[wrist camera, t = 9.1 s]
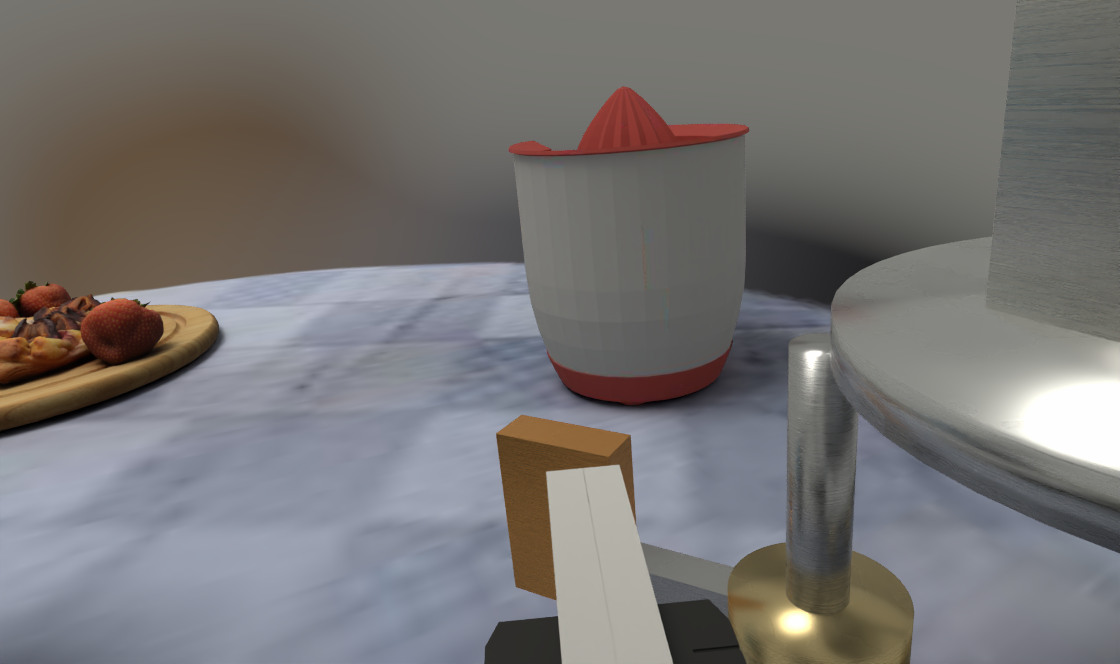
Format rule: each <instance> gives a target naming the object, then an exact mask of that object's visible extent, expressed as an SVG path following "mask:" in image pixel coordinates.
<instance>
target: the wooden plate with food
mask: <svg viewBox="0 0 1120 664" xmlns="http://www.w3.org/2000/svg"><path fill="white" fill-rule="evenodd" d="M32 283H33V282H31V281H29V282H27V283H24V284H25V292H24V291H23V290H22V289H19V290H18V292H17V294H16V299H10V301H9V302H8V301H7V300H3V299H0V431H1V430H6V429H10V428H14V427H18V426H21V425H25V424H29V423H33V422H36V421H40V420H44V419H47V418H50V417H53V416H56V415H60V414H64V413H67V412H71V411H74V410H77V409H80V408H83V407H86V406H89V405H92V404H95V403H98V402H101V401H104V400H107V399H110V398H113V397H115V396H118V395H121V394H123V393H126V392H128V391H131V390H133V389H136V388H138V387H141V386H143V385H145V384H148V383H150V382H152V381H155V380H157V379H159V378H161V377H163V376H165V375H167V374H170V373H172V372H174V371H176V370H178V369H179V368H181V367H183V366H185V365H186V364H188V363H190V362H192V361H193V360H195V359H196V358H198V357H199V356H200V355H202V354H203V353H204V352H205V351H206V350H208V349H209V348H210V347H211V345H212V344H213V343H214V342H215V340H216V338H217V336H218V333H219V325H218V322H217V320H216V318H215V317H214V315H212V314H211V313H210V312H208V311H206V310H204V309H201V308H197V307H192V306H183V305H148V304H149V303H150V302H149V303H147V304H141V303H140V301H138V299H135V300H127V299H125V298H118V299H114V298H111V301H108V302H103V303H100V302H99V301H98V300H95V299H94V298H93V296H92V295H88V296H82V297H78V298H77V297H76V298H72V299H71V298H70V296H69V294H68V293H67V291H66V290H65V289H64V288H63V287H61V286H59V285H56V284H48V282H47V283H46V284H45V285H44V286H39V287H38V286H36V283H34V284H32Z"/></svg>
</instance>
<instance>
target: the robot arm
mask: <svg viewBox="0 0 1120 664" xmlns="http://www.w3.org/2000/svg"><path fill="white" fill-rule="evenodd" d="M546 477H547V489H548V501H549V513H550V525H551V537H552V549H553V561H554V573H555V585H556V597H557V609H558V616H555V617H546V618H536V619H526V620H516V621H506V622H499V623H498V625H497V626H496V628H495V630H494V632H493V634H492V635H491V637H490V639H489V641H488V643H487V644H486V646H485V663H484V664H747V663H746V660H745V658H744V655H743V653H742V650H740V647H739V643H738V640H737V638H736V635H735V633H734V630H733V628H732V625H731V622H730V620H729V619H728V618H727V617H726V616H725V615H724V614H723V613H722V612H721V611H720V610H719V609H718V608H717V607H716V606H715V605H714V604H713V603H712V602H711V601H710V600H709V599H703V600H694V601H684V602H674V603H664V604H657V602H656V598H655V595H654V591H653V587H652V583H651V580H650V576H649V572H648V569H647V565H646V561H645V558H644V554H643V550H642V547H641V543H640V539H639V535H638V532H637V528H636V524H635V521H634V517H633V513H632V510H631V506H630V502H629V499H628V495H627V491H626V488H625V484H624V480H623V476H622V473H621V469H620V465H611V466H600V467H590V468H579V469H568V470H558V471H547V472H546Z"/></svg>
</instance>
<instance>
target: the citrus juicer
mask: <svg viewBox="0 0 1120 664" xmlns="http://www.w3.org/2000/svg"><path fill="white" fill-rule="evenodd" d="M748 132H749V128H748V127H747V126H745V125H738V124H690V125H689V124H688V125H667V124H666V123H665V122H664V120H663V119H662V118H661V117H660V116H659V115H658V113H657V112H656V111H655V110H654V109H653V108H652V107H651V106H650V105H649V104H648V103H647V102H646V101H645V100H644V99H643V98H642V97H641V96H639V95H638V94H637V93H636V92H634V91H633V90H632V89H631V88H628V87H621V88H619V89H617V90H616V91H615V93H613V95H612V96H611V97H610V98H609V99H608V100H607V101H606V103H605V104H604V105H603V106H602V108H601V109H600V110H599V112H598V113H597V115H596V116H595V118H594V119H593V120H592V122H591V124H590V125H589V127H588V128H587V130H586V132H585V134H584V135H583V138H582V140H581V142H580V144H579V146H578V149H577V150H567V151H566V150H565V151H551V149H550V148H548V147H546V146H543V145H541V144H539V143H537V142H535V141H528V142H521V143H518V144H514V145H512V146H510V147H509V152H510V153H513V156H514V165H515V174H516V184H517V192H518V193H517V194H518V202H519V212H520V222H521V230H522V240H523V249H524V259H525V269H526V275H527V281H528V287H529V293H530V299H531V304H532V308H533V311H534V315H535V318H536V321H537V325H538V328H539V331H540V334H541V336H542V338H543V341H544V343H545V346H546V348H547V353H548V357H549V359H550V361H551V362H552V364H553V366H554V368H555V370H556V372H557V373H558V375H559V377H560V379H561V380H562V382H563V383H564V384H565V385H566V386H567V387H568V388H570V389H571V390H573V391H574V392H577V393H579V394H581V395H584V396H587V397H591V398H595V399H600V400H607V401H615V402H620V403H622V404H625V405H639V404H643V403H645V402H649V401H658V400H666V399H670V398H675V397H680V396H684V395H687V394H690V393H693V392H696V391H698V390H700V389H702V388H704V387H707V386H708V385H709V384H711V383H712V382H714V381H715V380H716V378H717V377H718V376H719V375H720V373H721V371H722V368H723V366H724V364H725V362H726V359H727V357H728V354H729V352H730V349H731V346H732V342H733V340H732V337H733V334H734V330H735V327H736V324H737V320H738V316H739V312H740V306H741V301H742V295H743V289H744V278H745V277H744V276H745V260H746V248H745V247H746V246H745V245H746V238H745V237H746V235H745V134H746V133H748Z"/></svg>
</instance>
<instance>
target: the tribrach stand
mask: <svg viewBox="0 0 1120 664" xmlns="http://www.w3.org/2000/svg"><path fill="white" fill-rule="evenodd" d="M830 361H831V371H832V374H833V376H834V378H835V380H836V383H837V385H838V387H839V390H840V391H841V392H842V394H843V395H844V396H845V397H846V399H847V400H848V401H849V402H850V404H851V405H852V406H853V408H854V409H855V410H856V411H857V412H858V413H859V414H860V415H861V416H862V417H863V418H864V419H866V420H867V421H868V422H869V423H870V424H871V425H872V426H873V427H874V428H876V429H877V430H878V431H879V432H880V433H881V434H882V435H883V436H885V437H886V438H888V439H889V440H891V441H892V442H894V443H895V444H896V445H898V446H899V447H901V448H902V449H904V450H905V451H907V452H908V453H910V454H911V455H912V456H914V457H915V458H917V459H918V460H920V461H921V462H923V463H924V464H926V465H928V466H930V467H932V468H933V469H935V470H937V471H939V472H941V473H942V474H944V475H946V476H948V477H949V478H951V479H953V480H955V481H957V482H958V483H960V484H962V485H964V486H966V487H967V488H969V489H971V490H973V491H975V492H976V493H979V494H981V495H983V496H985V497H987V498H989V499H992V500H994V501H996V502H998V503H1000V504H1002V505H1005V506H1007V507H1009V508H1011V509H1013V510H1015V511H1018V512H1020V513H1022V514H1024V515H1026V516H1028V517H1031V518H1033V519H1035V520H1037V521H1039V522H1041V523H1044V524H1046V525H1048V526H1051V527H1053V528H1056V529H1058V530H1061V531H1064V532H1066V533H1069V534H1071V535H1074V536H1076V537H1079V538H1082V539H1084V540H1087V541H1089V542H1092V543H1094V544H1097V545H1100V546H1102V547H1105V548H1107V549H1110V550H1112V551H1115V552H1117V553H1120V0H1017V4H1016V14H1015V23H1014V33H1013V43H1012V52H1011V63H1010V71H1009V82H1008V91H1007V100H1006V111H1005V120H1004V130H1003V140H1002V149H1001V158H1000V168H999V178H998V188H997V198H996V207H995V217H994V227H993V236H992V237H986V238H978V239H971V240H965V241H958V242H952V243H947V244H942V245H937V246H932V247H927V248H923V249H919V250H915V251H911V252H907V253H903V254H900V255H897V256H894V257H892V258H888V259H886V260H883V261H880V262H878V263H875V264H873V265H871V266H869V267H867V268H865V269H863V270H861V271H859V272H858V273H856V274H855V275H853V276H852V277H851V278H849V279H847V280H846V281H845V283H844V284H843V285H842V286H841V287H840V288H839V289H838V290H837V292H836V294H835V296H834V299H833V302H832V306H831V337H830Z"/></svg>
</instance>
